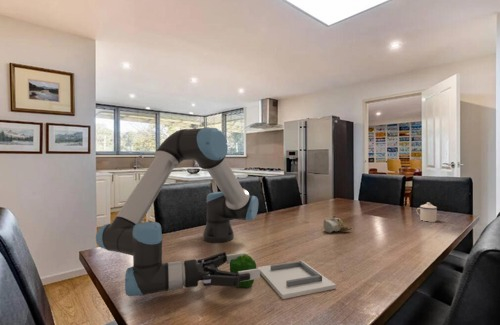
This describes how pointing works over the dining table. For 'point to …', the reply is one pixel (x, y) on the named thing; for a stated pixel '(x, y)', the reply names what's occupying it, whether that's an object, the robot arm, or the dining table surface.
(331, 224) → the garlic bulb
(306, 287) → the board
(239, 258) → the bell pepper
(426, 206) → the teacup with lid
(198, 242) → the dining table surface
